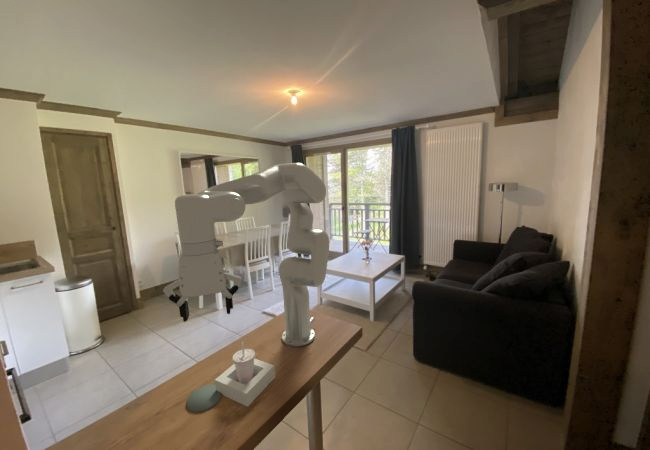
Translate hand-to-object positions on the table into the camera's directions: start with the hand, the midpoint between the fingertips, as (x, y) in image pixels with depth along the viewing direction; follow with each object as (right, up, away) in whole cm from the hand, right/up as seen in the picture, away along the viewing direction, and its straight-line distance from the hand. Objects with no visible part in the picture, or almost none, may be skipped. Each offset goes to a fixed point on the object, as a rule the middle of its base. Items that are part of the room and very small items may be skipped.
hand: (208, 315), depth 65 cm
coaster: (-5, -27, +9) cm, 29 cm away
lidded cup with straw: (+5, -26, +14) cm, 30 cm away
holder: (+5, -25, +14) cm, 30 cm away
